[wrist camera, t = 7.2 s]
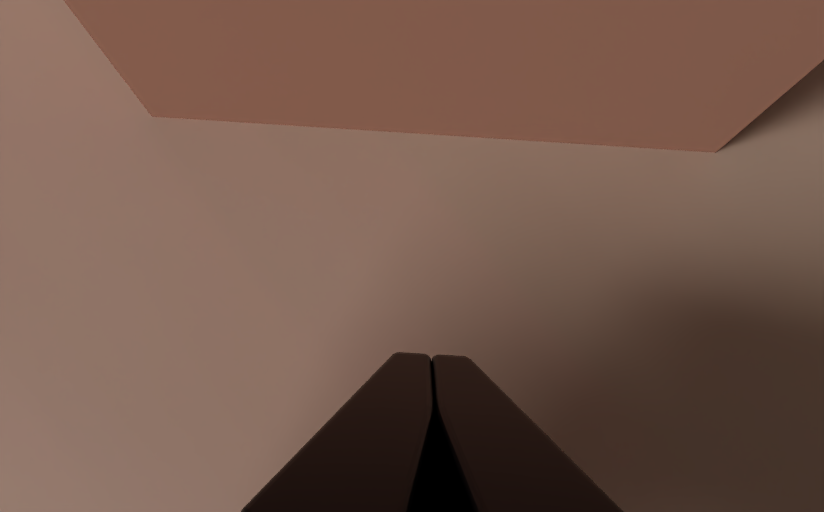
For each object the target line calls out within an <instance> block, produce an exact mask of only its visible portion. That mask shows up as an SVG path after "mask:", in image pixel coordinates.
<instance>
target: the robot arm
mask: <svg viewBox="0 0 824 512" xmlns="http://www.w3.org/2000/svg"><path fill="white" fill-rule="evenodd" d="M241 512H623V511H622V510H621V509H620V508H619V507H618V506H617V505H616V504H615V503H614V502H613V501H612V500H611V499H610V498H609V497H608V496H607V495H606V494H605V493H604V492H603V491H602V490H601V489H600V488H599V487H598V486H597V485H596V484H595V483H594V482H593V481H592V480H591V479H590V478H589V477H588V476H587V475H586V474H585V473H584V472H583V471H582V470H581V469H580V468H579V467H578V466H577V465H576V464H575V463H574V462H573V461H572V460H571V459H570V458H569V457H568V456H567V455H566V454H565V453H564V452H563V451H562V450H561V449H560V448H559V447H558V446H557V445H556V444H555V443H554V442H553V441H552V440H551V439H550V438H549V437H548V436H547V435H546V434H545V433H544V432H543V431H542V430H541V429H540V428H539V427H538V426H537V425H536V424H535V423H534V422H533V421H532V420H531V419H530V418H529V417H528V416H527V415H526V414H525V413H524V412H523V411H522V410H521V409H520V408H519V407H518V406H517V405H516V404H515V403H514V402H513V401H512V400H511V399H510V398H509V397H508V396H507V395H506V394H505V393H504V392H503V391H502V390H501V389H500V388H499V387H498V386H497V385H496V384H495V383H494V382H493V381H492V380H491V379H490V378H489V377H488V376H487V375H486V374H485V373H484V372H483V371H482V370H481V369H480V368H479V367H478V366H477V365H476V364H475V363H474V362H473V361H472V360H471V359H469V358H468V357H466V356H453V355H436V356H434V357H433V358H432V361H431V358H430V357H429V356H428V355H427V354H420V353H403V352H397V353H395V354H393V355H392V356H391V357H390V358H389V359H388V360H387V361H386V362H385V363H384V364H383V365H382V366H381V367H380V368H379V369H378V370H377V371H376V372H375V373H374V374H373V375H372V377H371V378H370V379H369V380H368V381H367V382H366V383H365V384H364V385H363V386H362V387H361V388H360V389H359V390H358V391H357V392H356V393H355V394H354V395H353V396H352V397H351V398H350V399H349V400H348V401H347V402H346V403H345V404H344V405H343V406H342V407H341V408H340V409H339V410H338V411H337V412H336V414H335V415H334V416H333V417H332V418H331V419H330V420H329V421H328V422H327V423H326V424H325V425H324V426H323V427H322V428H321V429H320V430H319V431H318V432H317V433H316V434H315V435H314V436H313V437H312V438H311V439H310V440H309V441H308V442H307V443H306V444H305V445H304V446H303V447H302V448H301V449H300V450H299V452H298V453H297V454H296V455H295V456H294V457H293V458H292V459H291V460H290V461H289V462H288V463H287V464H286V465H285V466H284V467H283V468H282V469H281V470H280V471H279V472H278V473H277V474H276V475H275V476H274V477H273V478H272V479H271V480H270V481H269V482H268V483H267V484H266V485H265V486H264V487H263V489H262V490H261V491H260V492H259V493H258V494H257V495H256V496H255V497H254V498H253V499H252V500H251V501H250V502H249V503H248V504H247V505H246V506H245V507H244V508H243V509H242V511H241Z"/></svg>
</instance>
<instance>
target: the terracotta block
mask: <svg viewBox="0 0 824 512" xmlns="http://www.w3.org/2000/svg"><path fill="white" fill-rule="evenodd" d="M64 1H65V3H66V4H67V5H68V7H69V8H70V9H71V11H72V12H73V13H74V15H75V16H76V17H77V19H78V20H79V21H80V22H81V24H82V25H83V26H84V28H85V29H86V30H87V32H88V33H89V34H90V36H91V37H92V38H93V40H94V41H95V42H96V44H97V45H98V46H99V48H100V49H101V50H102V51H103V53H104V54H105V55H106V57H107V58H108V59H109V61H110V62H111V63H112V65H113V66H114V67H115V69H116V70H117V71H118V73H119V74H120V75H121V76H122V78H123V79H124V80H125V82H126V83H127V84H128V86H129V87H130V88H131V90H132V91H133V92H134V94H135V95H136V96H137V98H138V99H139V100H140V102H141V103H142V104H143V105H144V107H145V108H146V109H147V111H148V112H149V113H150V115H151V116H152V117H168V118H183V119H199V120H215V121H230V122H246V123H262V124H278V125H293V126H309V127H325V128H340V129H356V130H372V131H387V132H403V133H419V134H434V135H450V136H466V137H481V138H497V139H513V140H528V141H544V142H560V143H575V144H591V145H607V146H622V147H638V148H654V149H669V150H685V151H701V152H717V151H718V150H719V149H720V148H722V147H723V146H724V145H725V144H726V143H727V142H728V141H730V140H731V139H732V138H733V137H734V136H735V135H737V134H738V133H739V132H740V131H741V130H742V129H744V128H745V127H746V126H747V125H748V124H749V123H751V122H752V121H753V120H754V119H755V118H756V117H758V116H759V115H760V114H761V113H762V112H763V111H765V110H766V109H767V108H768V107H769V106H770V105H772V104H773V103H774V102H775V101H776V100H777V99H779V98H780V97H781V96H782V95H783V94H784V93H786V92H787V91H788V90H789V89H790V88H791V87H793V86H794V85H795V84H796V83H797V82H798V81H800V80H801V79H802V78H803V77H804V76H805V75H807V74H808V73H809V72H810V71H811V70H812V69H814V68H815V67H816V66H817V65H818V64H819V63H821V62H822V61H823V60H824V0H64Z"/></svg>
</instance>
